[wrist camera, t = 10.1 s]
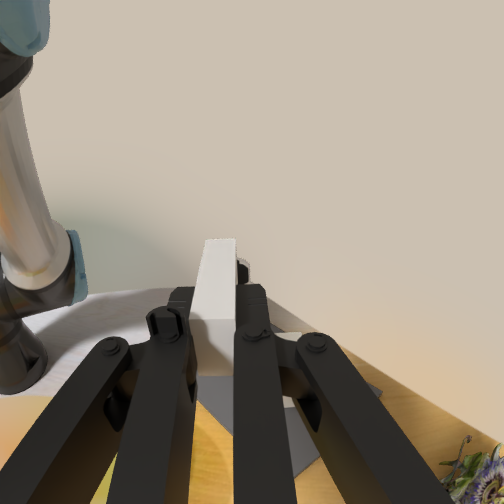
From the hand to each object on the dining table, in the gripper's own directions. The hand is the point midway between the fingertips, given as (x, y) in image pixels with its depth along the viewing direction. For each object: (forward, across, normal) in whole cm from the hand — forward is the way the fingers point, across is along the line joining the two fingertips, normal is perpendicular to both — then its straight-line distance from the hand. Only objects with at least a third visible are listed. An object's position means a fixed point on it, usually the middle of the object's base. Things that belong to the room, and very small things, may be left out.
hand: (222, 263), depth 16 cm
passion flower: (-8, +25, -30) cm, 40 cm away
